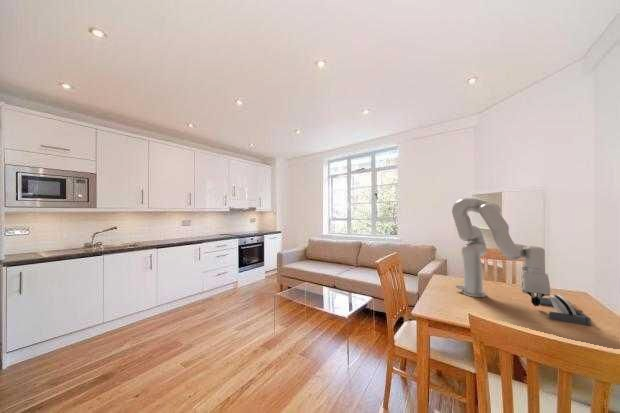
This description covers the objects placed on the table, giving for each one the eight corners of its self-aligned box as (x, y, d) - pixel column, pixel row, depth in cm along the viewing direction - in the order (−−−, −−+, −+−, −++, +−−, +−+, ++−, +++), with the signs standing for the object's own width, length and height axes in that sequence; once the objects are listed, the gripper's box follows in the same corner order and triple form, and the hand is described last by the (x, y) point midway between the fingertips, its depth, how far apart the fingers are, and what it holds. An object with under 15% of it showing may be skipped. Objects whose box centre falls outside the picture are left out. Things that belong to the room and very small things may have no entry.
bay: (550, 319, 110) (550, 311, 110) (534, 302, 130) (534, 295, 130) (591, 326, 104) (591, 317, 104) (567, 306, 123) (567, 299, 123)
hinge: (585, 324, 106) (574, 302, 108) (571, 325, 108) (561, 304, 110) (567, 309, 121) (557, 290, 122) (555, 310, 123) (546, 292, 124)
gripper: (518, 270, 122) (519, 305, 122) (558, 274, 115) (558, 310, 115) (514, 267, 128) (515, 299, 128) (551, 270, 121) (552, 305, 121)
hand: (535, 305), depth 122 cm, fingers closed
